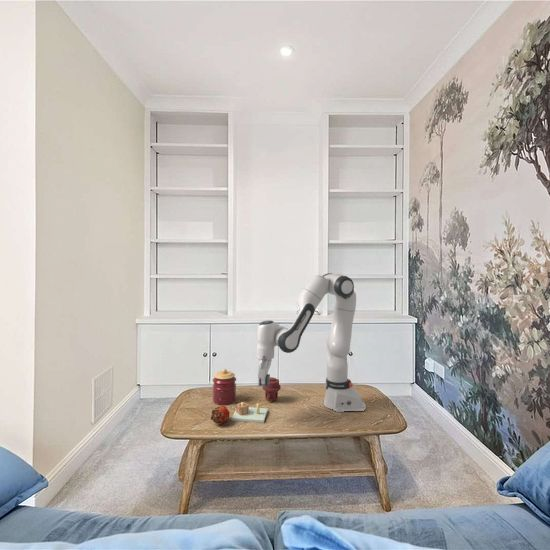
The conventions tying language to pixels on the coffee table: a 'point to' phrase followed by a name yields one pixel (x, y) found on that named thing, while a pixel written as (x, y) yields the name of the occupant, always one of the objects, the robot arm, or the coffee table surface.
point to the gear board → (249, 413)
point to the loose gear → (267, 381)
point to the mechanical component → (272, 389)
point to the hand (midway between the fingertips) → (264, 381)
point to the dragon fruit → (220, 415)
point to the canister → (224, 387)
